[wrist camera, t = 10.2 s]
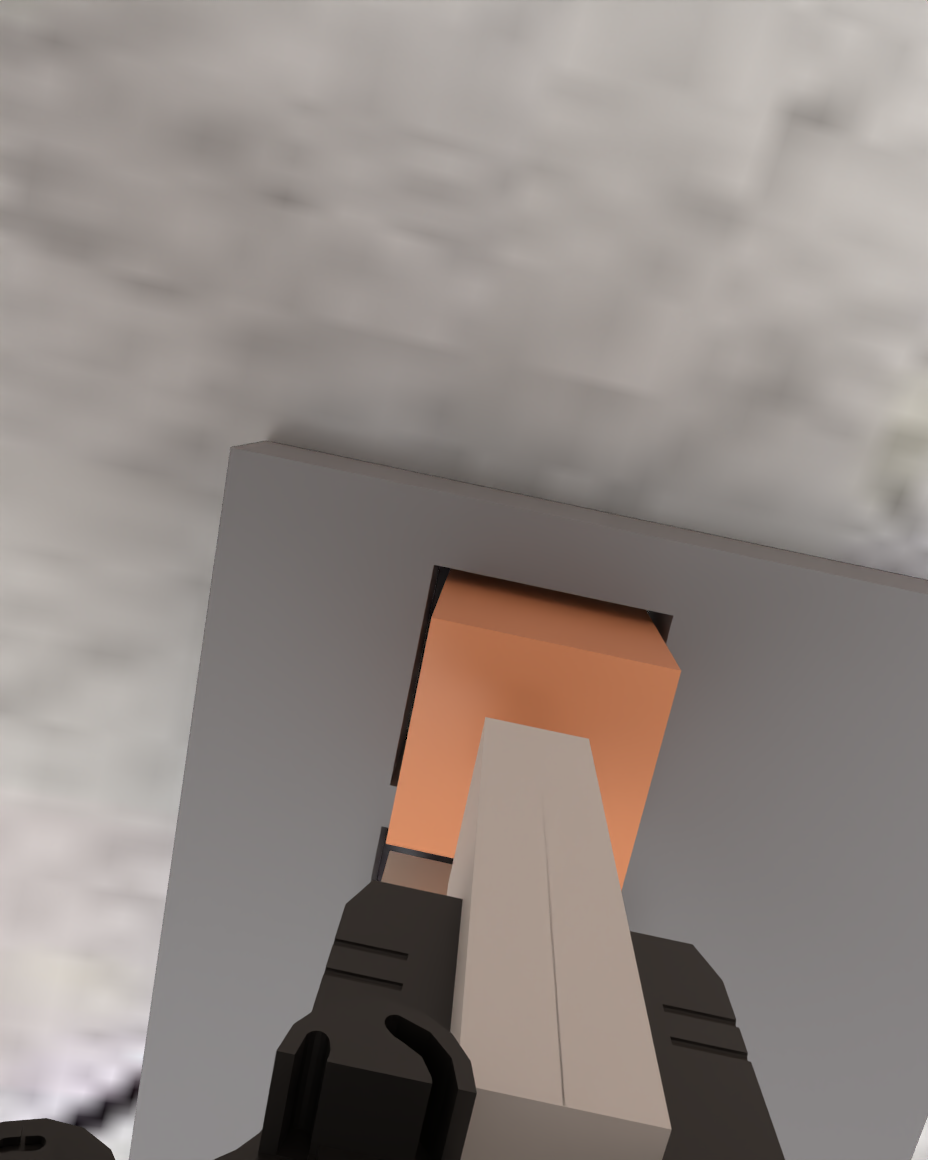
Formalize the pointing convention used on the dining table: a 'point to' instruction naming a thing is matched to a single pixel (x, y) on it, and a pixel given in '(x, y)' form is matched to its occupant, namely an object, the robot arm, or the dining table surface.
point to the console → (669, 820)
